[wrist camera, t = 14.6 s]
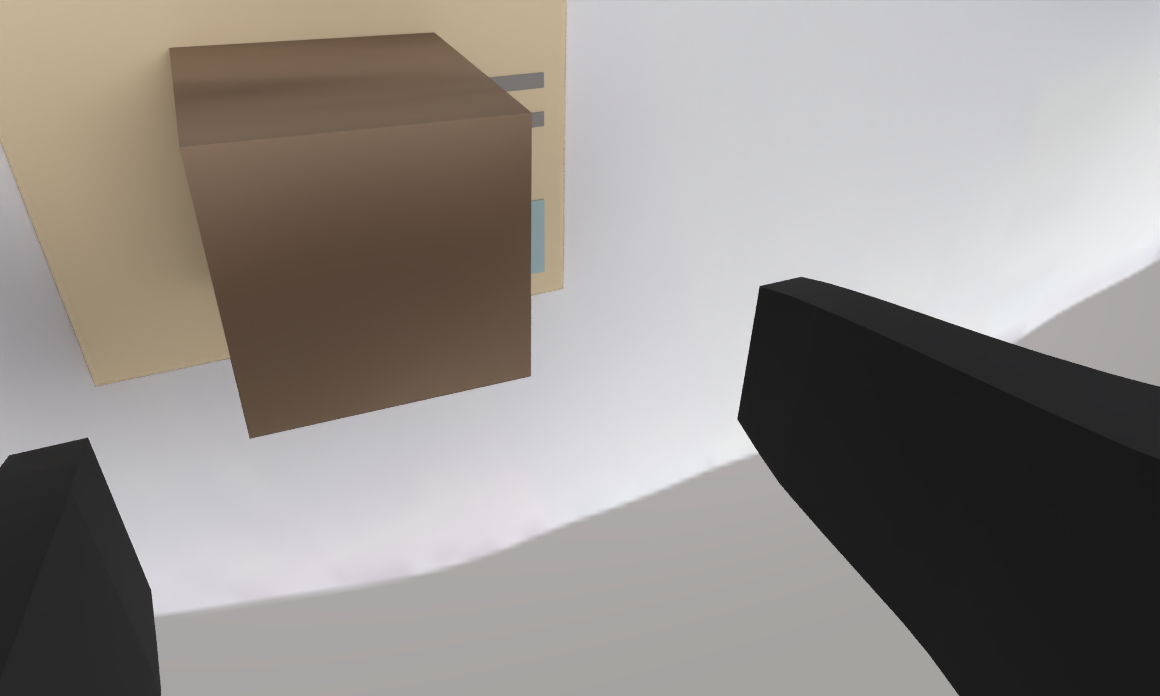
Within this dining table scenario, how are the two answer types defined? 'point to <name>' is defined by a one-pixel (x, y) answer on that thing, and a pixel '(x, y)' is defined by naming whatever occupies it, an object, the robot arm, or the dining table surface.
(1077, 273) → the dining table surface
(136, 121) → the kraft envelope
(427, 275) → the walnut cube
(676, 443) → the dining table surface
